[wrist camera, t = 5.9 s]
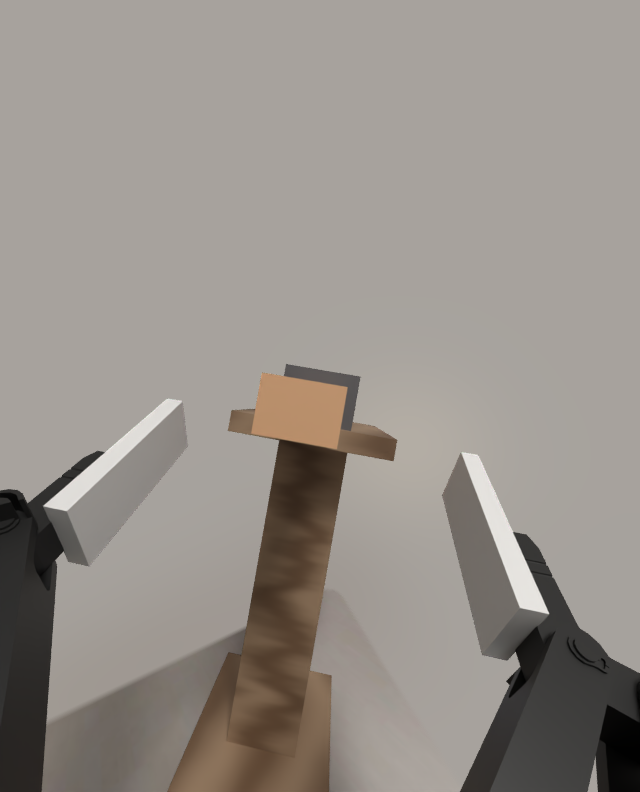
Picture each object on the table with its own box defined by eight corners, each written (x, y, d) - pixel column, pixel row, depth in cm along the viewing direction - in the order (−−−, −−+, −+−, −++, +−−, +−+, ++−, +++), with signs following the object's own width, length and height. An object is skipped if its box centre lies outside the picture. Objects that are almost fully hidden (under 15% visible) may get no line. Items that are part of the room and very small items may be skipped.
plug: (226, 429, 13) (244, 331, 13) (294, 413, 33) (301, 376, 33) (362, 453, 13) (379, 354, 13) (347, 422, 33) (353, 384, 33)
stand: (157, 827, 23) (234, 391, 23) (226, 665, 37) (273, 396, 37) (323, 871, 22) (400, 420, 22) (329, 688, 36) (376, 413, 36)
